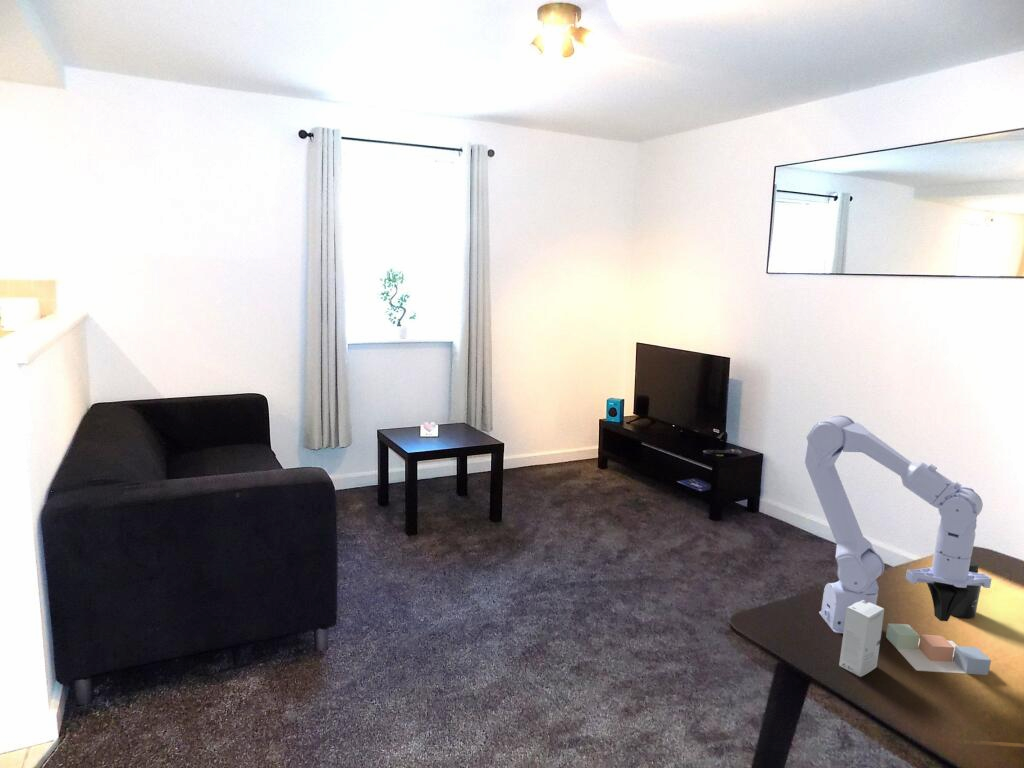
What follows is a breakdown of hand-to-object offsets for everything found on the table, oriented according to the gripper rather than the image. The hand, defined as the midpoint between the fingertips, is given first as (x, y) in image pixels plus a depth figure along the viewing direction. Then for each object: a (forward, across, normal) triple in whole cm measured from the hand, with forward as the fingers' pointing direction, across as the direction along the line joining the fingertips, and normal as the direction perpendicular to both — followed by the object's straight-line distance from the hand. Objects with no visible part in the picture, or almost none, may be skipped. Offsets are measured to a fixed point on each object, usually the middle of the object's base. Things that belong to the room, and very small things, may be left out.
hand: (941, 618), depth 126 cm
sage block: (+8, -4, +4) cm, 10 cm away
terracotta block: (+8, 0, 0) cm, 8 cm away
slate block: (+8, +4, -4) cm, 10 cm away
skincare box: (+8, -17, -5) cm, 20 cm away
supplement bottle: (+8, +15, +18) cm, 25 cm away
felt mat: (+8, 0, 0) cm, 8 cm away
